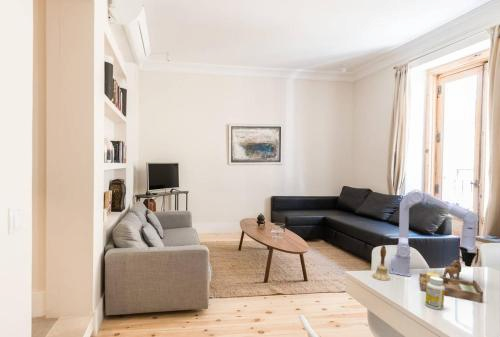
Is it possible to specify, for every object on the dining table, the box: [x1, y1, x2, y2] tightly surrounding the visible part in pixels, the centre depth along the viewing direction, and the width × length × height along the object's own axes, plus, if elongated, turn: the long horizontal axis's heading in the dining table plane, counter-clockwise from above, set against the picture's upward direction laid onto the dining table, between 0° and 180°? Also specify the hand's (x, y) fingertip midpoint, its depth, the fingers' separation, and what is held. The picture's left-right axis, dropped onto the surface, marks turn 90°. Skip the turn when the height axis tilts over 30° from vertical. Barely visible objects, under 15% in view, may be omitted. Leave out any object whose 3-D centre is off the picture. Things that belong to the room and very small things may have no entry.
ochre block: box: [425, 271, 441, 283], centre depth 153 cm, size 5×5×4 cm
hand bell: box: [371, 245, 391, 282], centre depth 162 cm, size 8×8×16 cm
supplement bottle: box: [425, 276, 445, 310], centre depth 132 cm, size 6×6×11 cm
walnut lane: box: [418, 272, 484, 304], centre depth 150 cm, size 23×16×4 cm
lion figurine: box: [442, 259, 462, 280], centre depth 166 cm, size 15×5×9 cm, turn 129°
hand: (466, 264), depth 159 cm, fingers open, 7 cm apart
